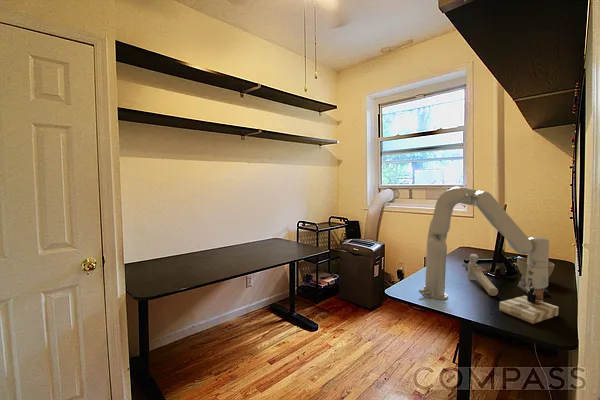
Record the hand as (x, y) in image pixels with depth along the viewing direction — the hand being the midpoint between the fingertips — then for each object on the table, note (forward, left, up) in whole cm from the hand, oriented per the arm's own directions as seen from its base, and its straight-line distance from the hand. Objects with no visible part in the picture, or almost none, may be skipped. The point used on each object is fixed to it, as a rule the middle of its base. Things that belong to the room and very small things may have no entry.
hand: (535, 300), depth 135 cm
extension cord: (+71, +48, -6) cm, 86 cm away
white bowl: (+50, +25, -5) cm, 56 cm away
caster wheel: (+28, +14, -5) cm, 32 cm away
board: (-5, 0, -5) cm, 7 cm away
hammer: (+8, +31, -5) cm, 32 cm away
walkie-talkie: (+33, +53, -6) cm, 63 cm away
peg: (0, 0, -3) cm, 3 cm away
